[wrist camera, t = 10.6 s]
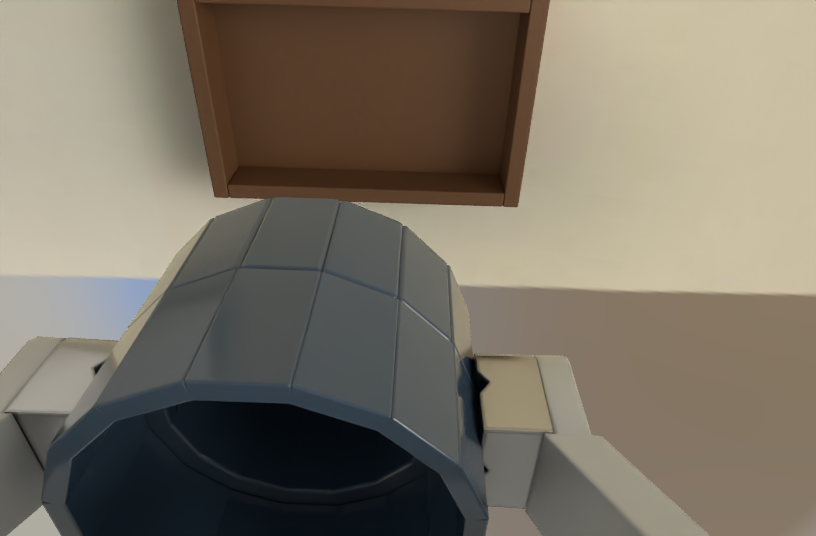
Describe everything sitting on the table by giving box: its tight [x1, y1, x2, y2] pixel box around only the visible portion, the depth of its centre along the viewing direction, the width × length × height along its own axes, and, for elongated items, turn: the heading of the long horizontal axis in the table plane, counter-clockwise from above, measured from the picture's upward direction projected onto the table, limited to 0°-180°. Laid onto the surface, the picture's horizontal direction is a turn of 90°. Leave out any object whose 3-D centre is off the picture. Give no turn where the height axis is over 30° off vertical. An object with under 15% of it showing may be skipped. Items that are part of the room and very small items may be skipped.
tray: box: [177, 0, 550, 207], centre depth 21 cm, size 12×8×2 cm, turn 89°
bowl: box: [41, 197, 489, 536], centre depth 9 cm, size 6×6×4 cm
